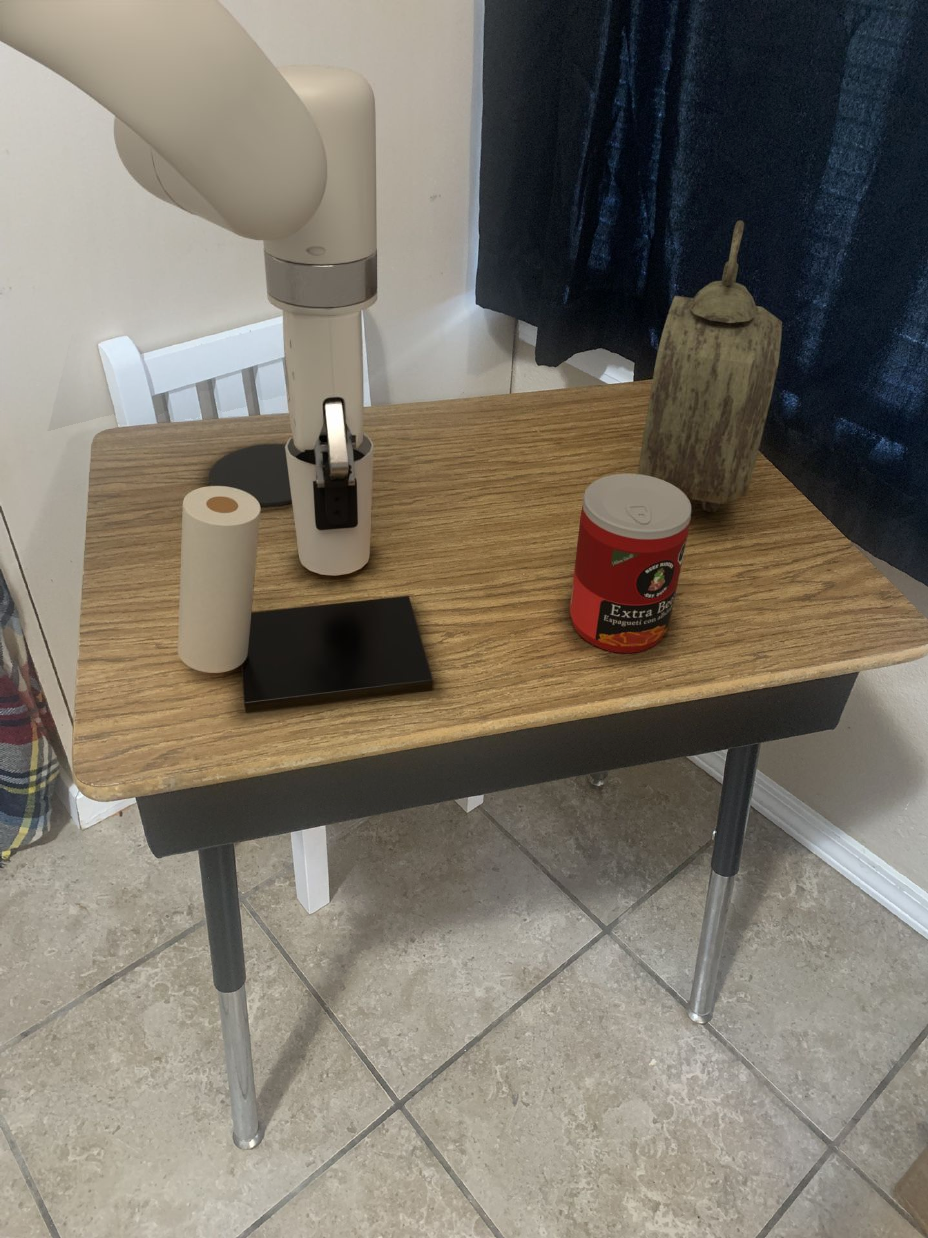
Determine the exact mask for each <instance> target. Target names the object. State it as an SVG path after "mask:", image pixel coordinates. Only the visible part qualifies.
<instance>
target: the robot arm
mask: <svg viewBox="0 0 928 1238" xmlns="http://www.w3.org/2000/svg"><path fill="white" fill-rule="evenodd" d="M0 42H1V43H3V44H5V45H6V46H8V47H10V48H12V49H13V50H15V51H16V52H19V53H21V54H23V56H24V55H25V56H27V57H28V58H30V59H31V60H33V61H35V62H37V64H38V63H39V64H40V65H42V66H43V67H45V68H47V69H48V70H51V71H52V72H54V73H55V74H57V75H58V76H60V77H62V78H63V79H64V80H66V81H67V82H69V83H70V84H72V85H74V86H75V87H76V88H77V89H79V90H80V91H82V92H83V93H85V94H86V95H87V96H89V97H90V98H91V99H93V100H94V101H95V102H97V104H99V105H100V106H102V107H103V108H104V109H106V110H107V111H108V112H110V114H112V115H113V116H114V119H113V137H114V138H113V139H114V144H115V148H116V150H117V151H116V152H117V154H118V156H119V159H120V160H121V163H122V165H123V166H124V169H126V171H127V172H128V174H129V175H130V176H131V177H132V178H133V180H134V181H135V182H136V183H137V184H138V185H139V186H140V187H142V188H143V189H144V190H145V191H147V192H148V193H149V194H151V195H152V196H154V197H156V198H158V199H159V200H161V201H162V202H165V203H168V204H169V205H172V206H174V207H176V208H178V209H180V210H182V211H185V212H187V213H188V214H190V215H194V216H197V217H199V218H201V219H203V220H205V221H208V222H210V223H212V224H214V225H215V226H218V227H220V228H222V229H225V230H227V231H229V232H231V233H233V234H235V235H237V236H238V237H242V238H245V239H248V240H254V241H262V242H263V243H262V244H263V259H264V271H265V285H266V298H267V300H268V302H269V303H270V304H271V305H272V306H274V307H275V308H277V309H280V310H282V334H283V335H282V336H283V353H284V354H283V355H284V366H285V367H284V368H285V381H286V382H285V383H286V385H285V386H286V403H287V410H288V411H287V412H288V417H289V424H290V430H291V435H292V436H293V441H294V445H295V447H296V448H297V449H298V450H299V451H301V452H305V450H313V449H314V454H315V467H316V479H317V481H313V493H314V510H315V524H316V528H317V529H318V530H331V529H343V528H354V527H356V526H357V525H358V505H357V480H356V478H355V473H354V458H353V446H354V448H355V449H356V448H358V447H359V446H360V445H361V443H362V442H363V433H364V418H365V417H364V413H365V412H364V408H365V407H364V405H365V404H364V403H365V402H364V401H365V400H364V398H365V397H364V396H365V393H364V389H365V387H364V346H363V343H364V342H363V341H364V340H363V318H362V314H363V313H362V311H364V310H366V309H369V308H370V307H372V306H373V305H374V304H376V302H378V244H377V243H378V241H377V240H378V239H377V238H378V237H377V236H378V235H377V234H378V231H377V229H378V228H377V226H378V225H377V224H378V223H377V221H378V220H377V219H378V218H377V217H378V216H377V134H376V133H377V130H376V128H377V123H376V121H377V120H376V119H377V117H376V116H377V115H376V99H375V93H374V90H373V88H372V86H371V84H370V83H369V81H368V80H367V78H366V77H364V76H363V75H362V74H361V73H359V72H356V71H354V70H352V69H350V68H345V67H339V66H331V65H324V64H323V65H321V64H292V65H282V66H281V65H280V66H276V65H274V63H273V62H272V61H271V59H270V58H269V57H268V56H267V55H266V53H265V52H264V51H263V49H262V48H261V47H260V46H259V45H258V44H257V42H256V41H255V39H254V38H253V37H252V36H251V35H250V34H249V32H247V30H246V29H245V28H244V27H243V25H242V24H241V23H240V22H239V21H238V20H237V19H236V18H235V17H234V16H233V14H232V13H231V12H230V11H229V10H228V9H227V8H226V7H225V6H224V4H223V3H221V1H219V0H0ZM345 435H346V436H345ZM319 440H320V441H321V442H322V443H320V442H319ZM326 452H328V453H329V462H325V465H324V467H323V454H322V453H326Z"/></svg>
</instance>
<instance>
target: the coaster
mask: <svg viewBox="0 0 928 1238" xmlns="http://www.w3.org/2000/svg"><path fill="white" fill-rule="evenodd" d="M285 446H286V444H281V443H267V444H258V445H252V446H247V447H244V448H239V449H237V450H234V451H231V452H230V453H227V454H225V455H224V456H223V457H221V458H219V459H218V460H217V461H216V462H215V463H214V464H213V465H212V466H211V468H210V470H209V473H208V481H209V486H225V487H232V488H236V489H239V490H242V491H245V492H247V493H249V494H250V495H252V496H253V497H254V498H255V499H256V500H257V501H258V502H259V504H260V507H267V508H268V507H278V506H279V507H280V506H285V505H289V504H292V497H291V490H290V482H289V474H288V466H287V458H286V450H285Z"/></svg>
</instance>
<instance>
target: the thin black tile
mask: <svg viewBox="0 0 928 1238" xmlns="http://www.w3.org/2000/svg"><path fill="white" fill-rule="evenodd" d="M241 675H242V676H241V677H242V693H243V706H244V712H245V714H250V713H258V712H267V711H276V710H282V709H283V710H284V709H291V708H299V707H306V706H307V707H308V706H314V705H316V706H317V705H323V704H331V703H338V702H339V703H340V702H348V701H355V700H363V699H371V698H380V697H386V696H395V695H396V696H397V695H404V694H412V693H418V692H427V691H433V690H434V679H433V675H432V672H431V668H430V665H429V660H428V657H427V654H426V650H425V647H424V644H423V640H422V637H421V632H420V630H419V626H418V622H417V619H416V615H415V612H414V608H413V605H412V602H411V598H410V596H409V595H403V596H395V597H385V598H374V599H366V600H356V601H355V600H354V601H346V602H337V603H329V604H327V603H326V604H319V605H309V606H300V607H299V606H298V607H290V608H280V609H279V608H278V609H272V610H262V611H261V610H260V611H254V612H253V611H251V622H250V634H249V645H248V655H247V658H246V660H245V661H244V662H243V663H242V664H241Z"/></svg>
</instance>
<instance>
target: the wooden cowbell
mask: <svg viewBox="0 0 928 1238" xmlns="http://www.w3.org/2000/svg"><path fill="white" fill-rule="evenodd" d="M744 229H745V222H744V221H743V220H737V221H736V222H735V225H734V228H733V233H732V237H731V239H732V240H731V246H730V251H729V257H728V260H727V261H726V262H725V264H724V267H723V271H722V272H723V273H722V278H721V280H715V281H711V282H710V283H708V284H707V285H705V286H704V287H703V288H701V289H700V290H699V291H698V292H697V293H696V294H695V295H694V297H688V296H680V295H674V297H673V299H672V301H671V305H670V307H669V309H668V312H667V313H668V314H667V316H666V319H665V323H664V327H663V329H662V333H661V337H660V341H659V345H658V349H657V353H656V358H655V365H654V370H653V376H652V381H651V387H650V392H649V399H648V405H647V411H646V416H645V417H646V418H645V424H644V429H643V434H642V443H641V448H640V449H641V450H640V456H639V461H638V469H637V474H640V475H647V476H651V477H655V478H658V479H661V480H664V481H666V482H668V483H670V484H672V485H674V486H675V487H677V488H678V489H680V490H681V491H682V492H683V493H684V494H685V495H686V496H687V498H688V499H689V500H695V501H701V505H702V509H703V510H704V511H706V512H707V513H711V514H712V513H716V512H717V511H718V510H719V508H720V507H721V505H724V504H727V503H731V502H733V501H736V500H739V499H742V498H744V497H747V496H748V494H749V491H750V490H749V489H750V486H751V482H752V478H753V474H754V470H755V466H756V463H757V459H758V454H759V450H760V447H761V442H762V439H763V433H764V429H765V425H766V422H767V416H768V413H769V408H770V404H771V400H772V396H773V391H774V387H775V382H776V378H777V373H778V366H779V360H780V354H781V353H780V352H781V343H782V331H783V321H781V319H779V318H778V317H776V316H775V315H774V314H772V313H771V312H769V311H768V310H767V309H765V307H763V306H758V305H756V302H755V300H754V297H753V296H752V294H751V293H750V292H749V290H748V288H747V287H746V286H745V285H743V284H740V283H738V282H736V281H737V280H736V279H737V276H738V271H739V264H738V262H737V261H738V253H739V250H740V246H741V241H742V237H743V233H744Z"/></svg>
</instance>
